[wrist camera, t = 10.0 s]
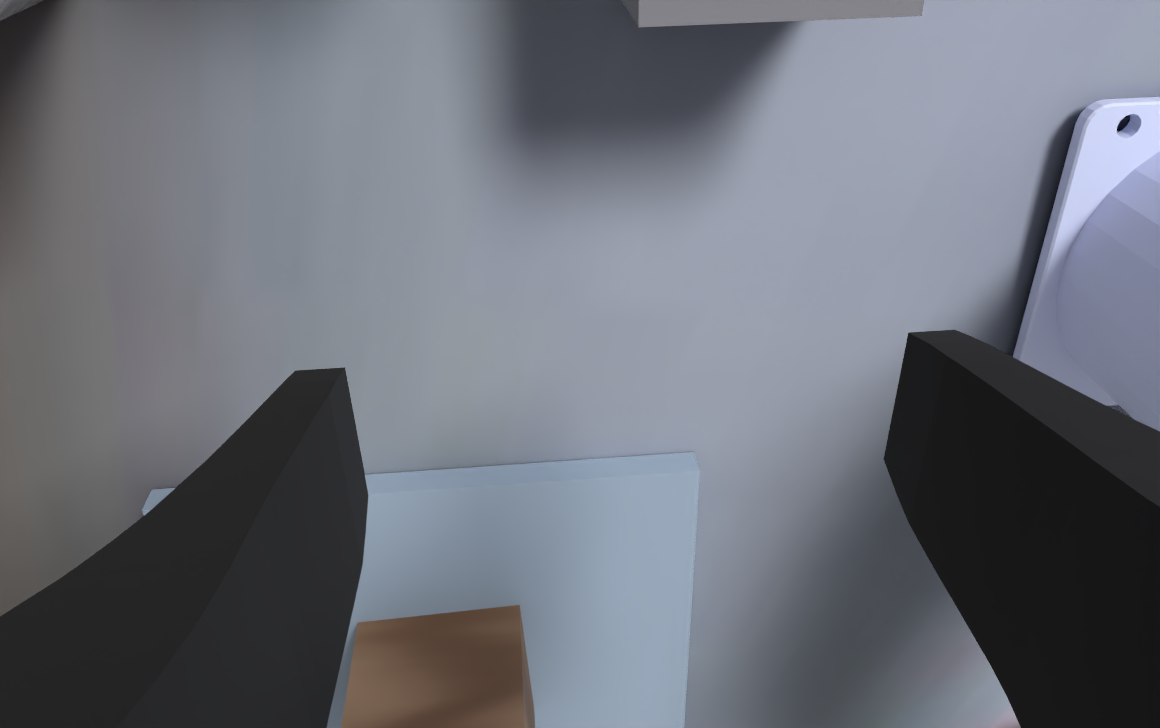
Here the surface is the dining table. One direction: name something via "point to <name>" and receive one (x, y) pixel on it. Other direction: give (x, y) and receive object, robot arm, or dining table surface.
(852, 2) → the grey cube
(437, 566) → the slate mat
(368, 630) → the walnut block
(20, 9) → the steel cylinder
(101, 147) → the dining table surface
